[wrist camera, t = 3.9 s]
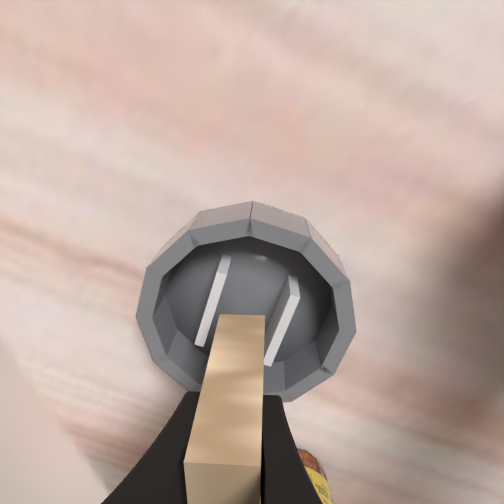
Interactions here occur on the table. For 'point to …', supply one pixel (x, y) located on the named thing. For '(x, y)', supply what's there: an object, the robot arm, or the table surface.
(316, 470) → the sauce bottle
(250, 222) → the grey round bowl
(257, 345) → the wooden jenga block
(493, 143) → the table surface
